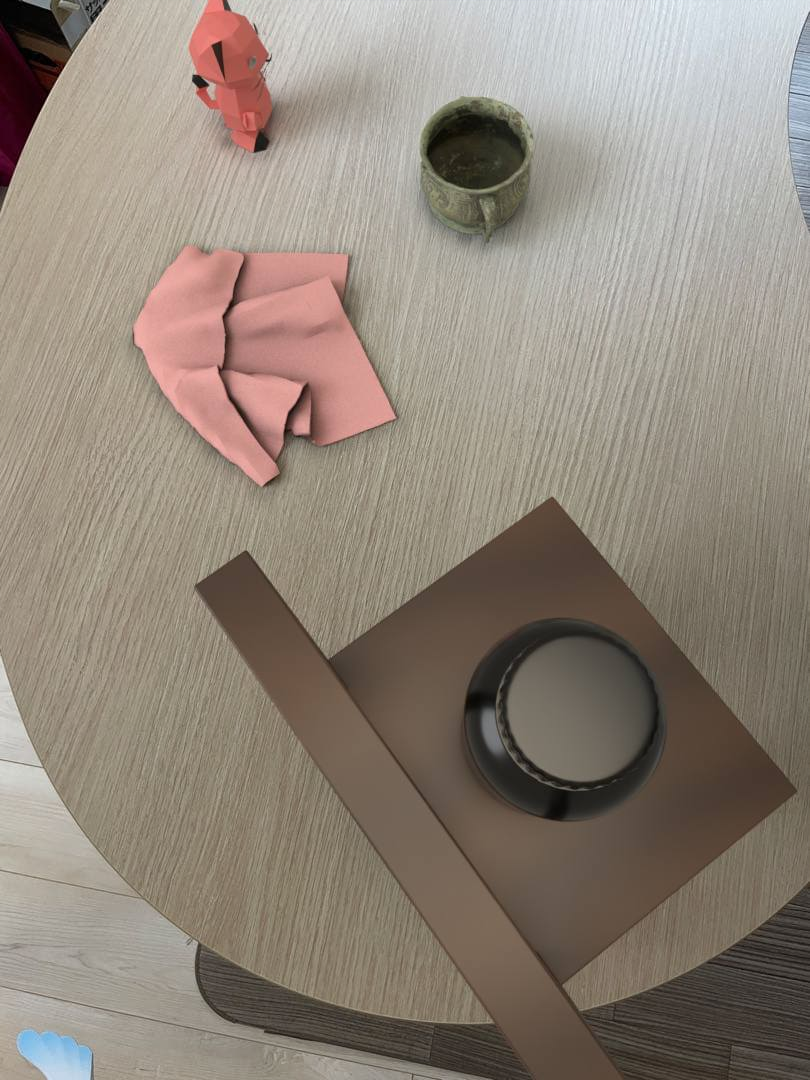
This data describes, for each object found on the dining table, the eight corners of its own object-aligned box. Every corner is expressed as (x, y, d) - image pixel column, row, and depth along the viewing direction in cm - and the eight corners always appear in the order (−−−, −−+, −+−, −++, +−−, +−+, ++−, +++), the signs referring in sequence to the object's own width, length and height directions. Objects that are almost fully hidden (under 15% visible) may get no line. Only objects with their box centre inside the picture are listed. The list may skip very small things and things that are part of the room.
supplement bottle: (452, 659, 41) (457, 599, 29) (611, 646, 40) (679, 581, 29) (467, 825, 39) (478, 832, 27) (633, 812, 39) (716, 814, 27)
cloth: (162, 230, 77) (153, 212, 75) (426, 266, 75) (425, 249, 73) (96, 461, 72) (85, 449, 69) (379, 506, 70) (377, 496, 68)
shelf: (657, 798, 64) (1091, 775, 21) (493, 930, 62) (611, 1192, 19) (510, 611, 67) (630, 279, 25) (351, 730, 66) (192, 586, 23)
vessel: (407, 143, 79) (404, 88, 73) (511, 125, 79) (517, 68, 73) (434, 268, 75) (434, 220, 69) (543, 248, 75) (552, 199, 69)
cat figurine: (285, 162, 79) (258, 51, 67) (203, 162, 79) (162, 51, 67) (290, 91, 80) (265, -29, 69) (210, 92, 81) (172, -28, 69)
